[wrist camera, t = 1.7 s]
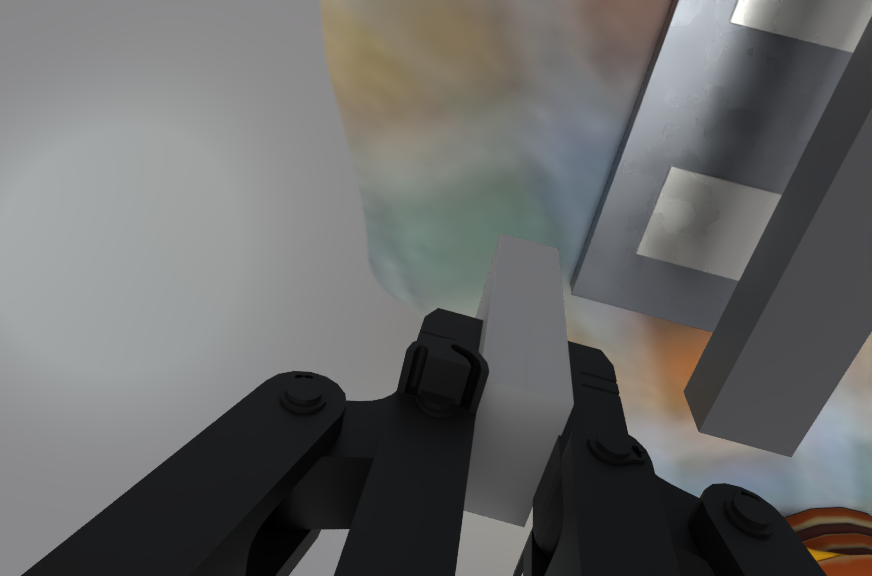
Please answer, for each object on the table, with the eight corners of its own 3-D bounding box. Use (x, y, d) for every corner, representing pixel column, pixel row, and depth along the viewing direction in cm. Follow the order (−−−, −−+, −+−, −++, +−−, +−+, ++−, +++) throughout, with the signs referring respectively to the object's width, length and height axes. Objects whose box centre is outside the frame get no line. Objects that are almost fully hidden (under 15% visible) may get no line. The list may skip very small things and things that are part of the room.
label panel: (1171, -296, 23) (1476, -436, 16) (799, 344, 37) (868, 436, 29) (809, -378, 24) (936, -552, 16) (570, 283, 37) (579, 357, 30)
